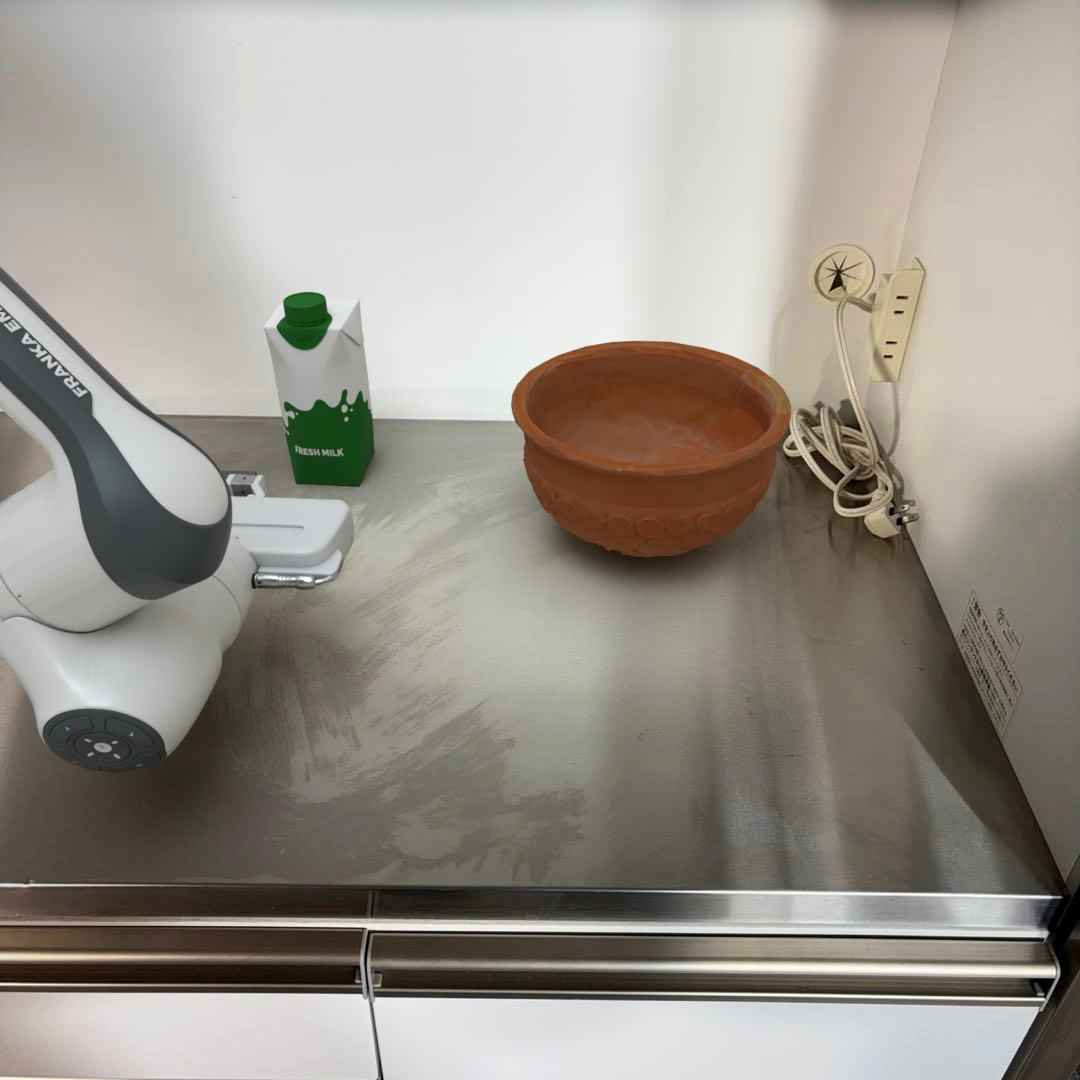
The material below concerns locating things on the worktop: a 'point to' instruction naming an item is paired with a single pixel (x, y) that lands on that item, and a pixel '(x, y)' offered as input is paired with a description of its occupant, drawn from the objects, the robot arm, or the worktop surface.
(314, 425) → the milk carton
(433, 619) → the worktop surface
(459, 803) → the worktop surface
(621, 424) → the bowl
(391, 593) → the worktop surface
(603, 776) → the worktop surface
